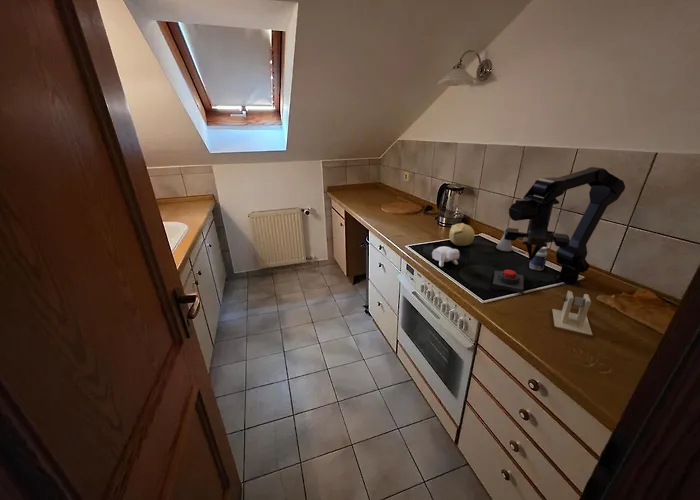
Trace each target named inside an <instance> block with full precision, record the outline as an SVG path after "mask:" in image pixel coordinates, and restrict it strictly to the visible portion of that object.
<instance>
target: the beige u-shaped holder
mask: <svg viewBox="0 0 700 500" xmlns="http://www.w3.org/2000/svg"><path fill="white" fill-rule="evenodd" d="M589 295H590V294H587V293H584V294H583V297H582V298H584V301H583V306H579V309H578V312H577V313H575V312H571V309H572V306H573V305H572V303H573V300H574V297H573V296H574V294H573V291H571V290H567V293H566V296H564V297H565V302H564V301H563V306H562V309H561V310H560V309H556V308H552V317H553V324H554V327H555V328H556V329H562V330H565V331H566V330H567V331H571V332H575V333H579V334H583V335H587V336H593V332H592V329H591V326H590V322H589V319H588V316H587V315H588V312H589V309H590V306H592V301H591V298H590V296H589Z"/></svg>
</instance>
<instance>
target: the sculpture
mask: <svg viewBox="0 0 700 500" xmlns="http://www.w3.org/2000/svg"><path fill="white" fill-rule="evenodd" d="M474 230H475V229H473V227H472V226H470V225H469V224H465V223H464V222H460V223H455V224H452V225H451V227H450V230H449V233H448V235H449V240H450V242H451V243H452V244H453V245H455V246H459V247H467V246H470V245H471V244H473V242H474V239H475V231H474Z"/></svg>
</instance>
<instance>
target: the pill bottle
mask: <svg viewBox="0 0 700 500" xmlns="http://www.w3.org/2000/svg"><path fill="white" fill-rule="evenodd" d="M547 250H548V246H547V247H542V248H541V249H540V250H539V251H538V252H537V254H536V255H535V257H534V258H533V259H532V260H529V268H530V269H531V270H534V271H544V269H545V266H546V263H547V258H548V252H547Z"/></svg>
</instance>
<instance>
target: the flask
mask: <svg viewBox="0 0 700 500" xmlns="http://www.w3.org/2000/svg"><path fill="white" fill-rule="evenodd" d="M507 228H508V227H507ZM507 228H504V229H503V230H504V232H503V235H502V237H501V239H500V240H499V242H498V243H497V245H496V249H497V250H499V251H503V252H511V251H513V245H512V240H506V239H504V238H505V232H506V229H507Z"/></svg>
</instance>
